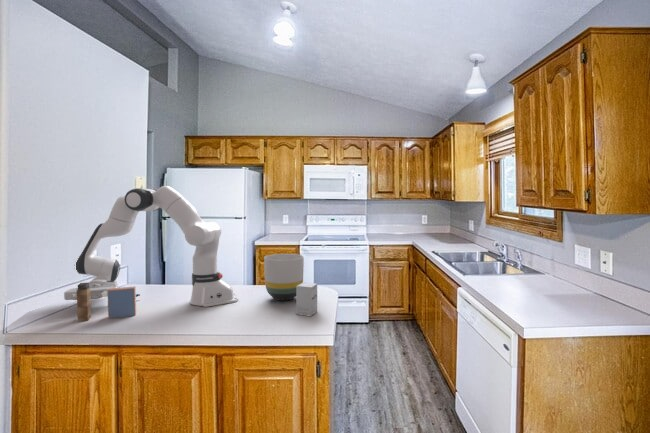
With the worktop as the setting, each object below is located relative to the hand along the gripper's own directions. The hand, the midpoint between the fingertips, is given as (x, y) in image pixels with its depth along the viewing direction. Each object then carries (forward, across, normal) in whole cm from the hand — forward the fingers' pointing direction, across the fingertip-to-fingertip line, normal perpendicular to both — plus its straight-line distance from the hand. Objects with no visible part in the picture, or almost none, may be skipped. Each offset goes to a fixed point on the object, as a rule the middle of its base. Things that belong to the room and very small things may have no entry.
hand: (87, 297), depth 148 cm
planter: (+7, +85, +8) cm, 86 cm away
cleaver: (-14, +14, +8) cm, 21 cm away
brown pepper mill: (+6, 0, +8) cm, 10 cm away
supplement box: (+31, +89, +8) cm, 95 cm away
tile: (+6, +14, +8) cm, 17 cm away
